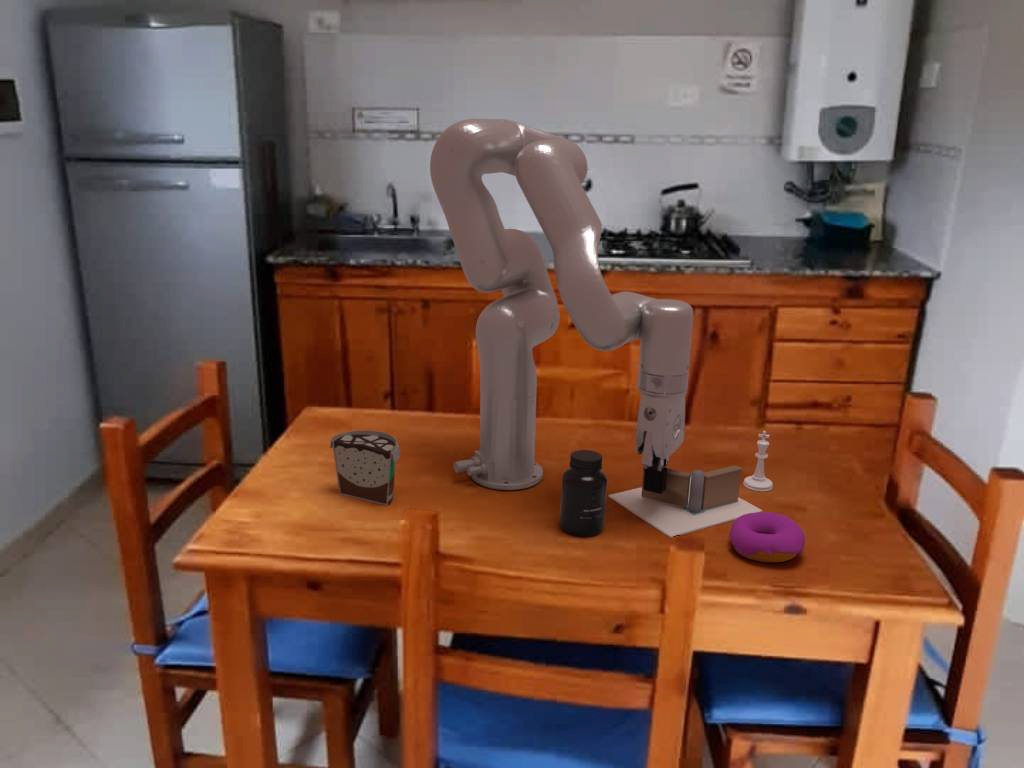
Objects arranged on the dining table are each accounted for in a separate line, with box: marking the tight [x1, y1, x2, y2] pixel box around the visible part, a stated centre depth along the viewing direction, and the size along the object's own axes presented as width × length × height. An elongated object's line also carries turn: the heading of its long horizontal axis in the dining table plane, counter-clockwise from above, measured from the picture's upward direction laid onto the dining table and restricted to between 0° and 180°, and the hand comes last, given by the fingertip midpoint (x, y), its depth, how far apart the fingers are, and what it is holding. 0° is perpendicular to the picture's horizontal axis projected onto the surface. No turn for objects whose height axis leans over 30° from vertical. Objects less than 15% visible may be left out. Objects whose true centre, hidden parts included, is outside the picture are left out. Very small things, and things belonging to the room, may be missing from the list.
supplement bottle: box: [559, 449, 608, 538], centre depth 128 cm, size 7×7×12 cm
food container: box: [329, 429, 401, 506], centre depth 138 cm, size 12×6×10 cm, turn 65°
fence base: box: [607, 464, 763, 539], centre depth 137 cm, size 19×16×7 cm
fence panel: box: [641, 466, 692, 507], centre depth 137 cm, size 8×2×5 cm, turn 61°
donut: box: [729, 511, 806, 563], centre depth 124 cm, size 11×10×5 cm
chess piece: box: [742, 430, 774, 492], centre depth 144 cm, size 5×5×10 cm
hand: (654, 490), depth 135 cm, fingers closed
